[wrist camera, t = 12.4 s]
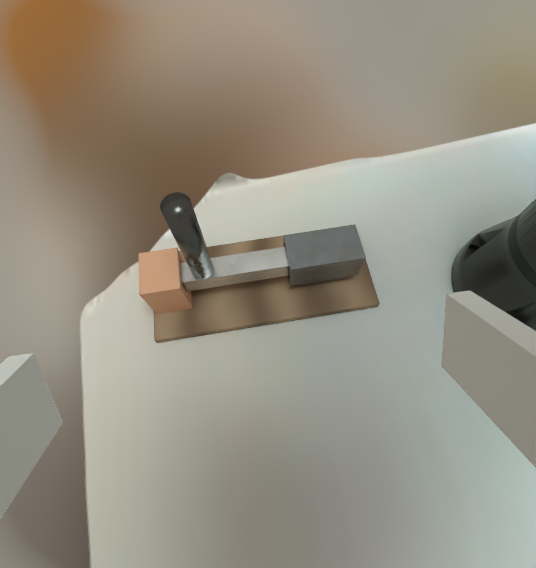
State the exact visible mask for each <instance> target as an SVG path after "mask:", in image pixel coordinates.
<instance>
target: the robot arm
mask: <svg viewBox="0 0 536 568" xmlns="http://www.w3.org/2000/svg"><path fill="white" fill-rule="evenodd" d="M452 284H453V289H454V292H455V293H448V294H446V309H445V325H444V340H443V356H442V367H443V368H444V369H445V370H446V371H447V372H448V373H449V375H450V376H451V377H452V378H453V379H454V380H455V381H456V382H457V383H458V384H459V385H460V386H461V387H462V389H463V390H464V391H465V392H466V393H467V394H468V395H469V396H470V397H471V398H472V399H473V400H474V401H475V403H476V404H477V405H478V406H479V407H480V408H481V409H482V410H483V411H484V412H485V413H486V414H487V416H488V417H489V418H490V419H491V420H492V421H493V422H494V423H495V424H496V425H497V426H498V427H499V428H500V430H501V431H502V432H503V433H504V434H505V435H506V436H507V437H508V438H509V439H510V440H511V441H512V442H513V444H514V445H515V446H516V447H517V448H518V449H519V450H520V451H521V452H522V453H523V454H524V455H525V457H526V458H527V459H528V460H529V461H530V462H531V463H532V464H533V465H534V466H535V467H536V199H535V200H534V201H533V202H532V203H531V204H530V205H529V206H528V207H527V208H526V209H525V210H524V211H523V212H522V213H521V214H519V215H518V216H517V217H514V218H512V219H510V220H507V221H505V222H502V223H500V224H498V225H495V226H493V227H490V228H488V229H486V230H484V231H482V232H480V233H479V234H477V235H476V236H474V237H473V238H472V239H471V240H470V241H469V242H468V243H467V244H466V245H465V246H464V247H463V248H462V249H461V251H460V252H459V253H458V255H457V257H456V259H455V261H454V264H453V268H452ZM62 423H63V421H62V419H61V417H60V414H59V412H58V409H57V407H56V405H55V402H54V400H53V398H52V395H51V393H50V390H49V388H48V386H47V384H46V381H45V378H44V376H43V374H42V371H41V369H40V367H39V364H38V362H37V359H36V357H35V354H34V353H30V354H23V355H16V356H9V357H8V358H7V359H6V360H5V361H4V362H2V363H1V364H0V519H1V518H2V516H3V514H4V513H5V511H6V510H7V508H8V507H9V505H10V504H11V502H12V500H13V499H14V498H15V496H16V494H17V493H18V491H19V490H20V488H21V486H22V485H23V484H24V482H25V481H26V479H27V477H28V476H29V474H30V473H31V471H32V470H33V468H34V467H35V465H36V463H37V462H38V460H39V459H40V457H41V456H42V454H43V452H44V451H45V450H46V448H47V446H48V445H49V443H50V442H51V440H52V438H53V437H54V436H55V434H56V433H57V431H58V429H59V428H60V426H61V425H62Z"/></svg>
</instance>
